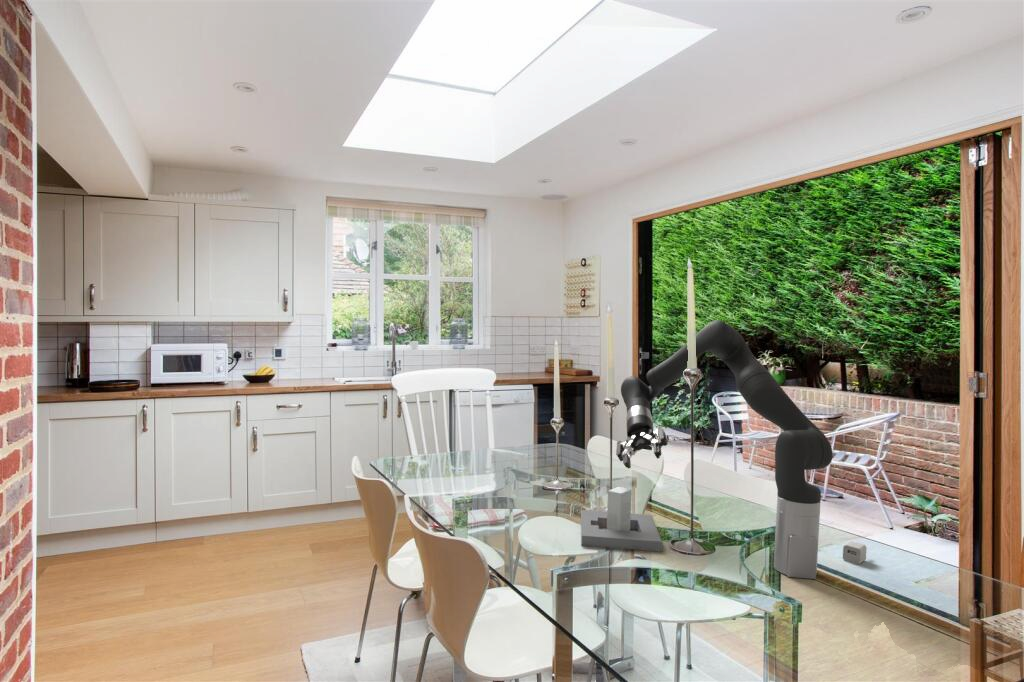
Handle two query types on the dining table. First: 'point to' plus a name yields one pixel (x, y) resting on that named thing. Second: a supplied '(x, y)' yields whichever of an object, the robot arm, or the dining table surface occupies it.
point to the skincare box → (619, 509)
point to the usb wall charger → (854, 552)
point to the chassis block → (619, 532)
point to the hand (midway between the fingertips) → (642, 461)
